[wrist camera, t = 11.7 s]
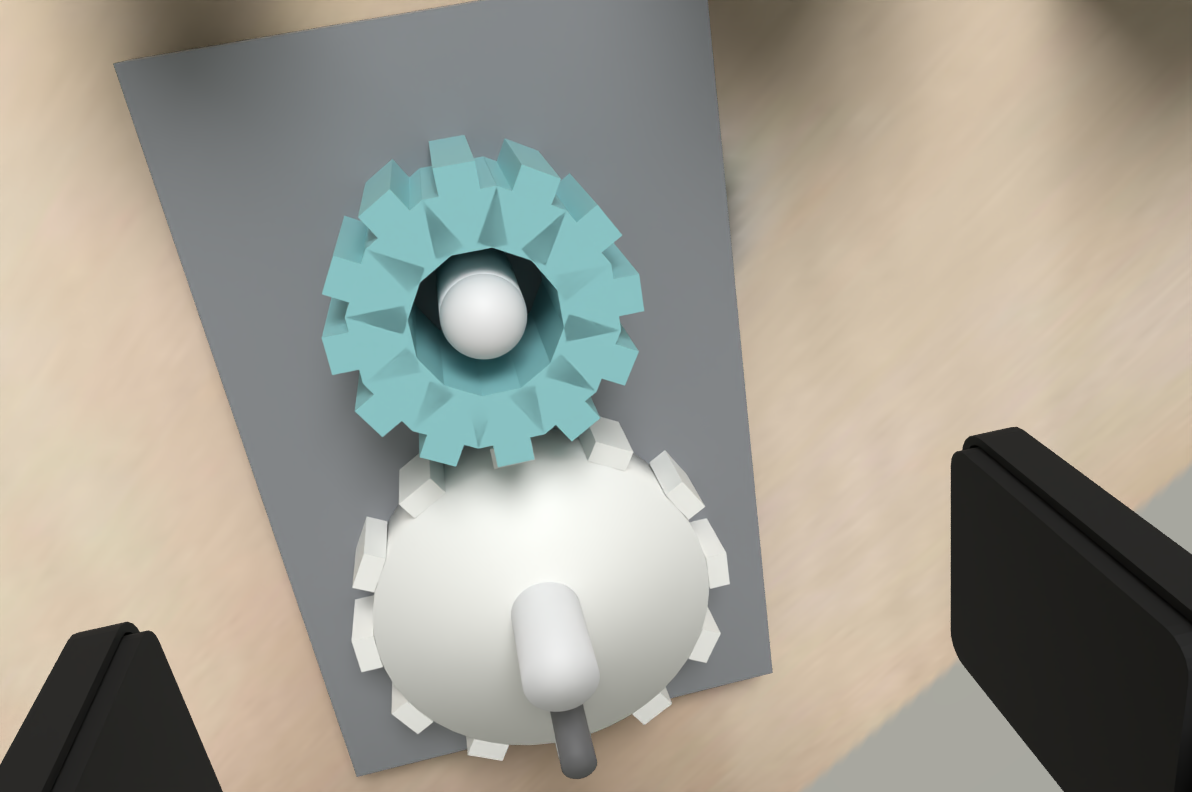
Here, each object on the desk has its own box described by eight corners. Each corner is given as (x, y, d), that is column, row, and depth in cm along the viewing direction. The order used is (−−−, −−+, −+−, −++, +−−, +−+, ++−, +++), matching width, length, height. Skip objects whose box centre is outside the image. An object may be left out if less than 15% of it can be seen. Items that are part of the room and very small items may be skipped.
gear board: (687, -36, 25) (776, -44, 19) (757, 645, 34) (832, 784, 28) (130, 59, 23) (36, 82, 17) (358, 743, 32) (348, 912, 26)
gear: (588, 112, 24) (619, 133, 21) (626, 372, 27) (661, 431, 24) (300, 164, 23) (281, 196, 20) (372, 426, 26) (367, 496, 23)
